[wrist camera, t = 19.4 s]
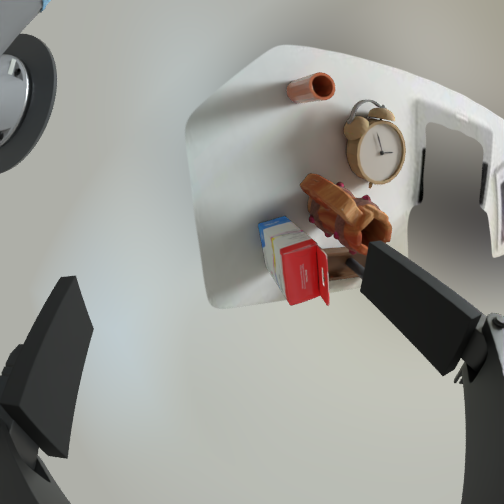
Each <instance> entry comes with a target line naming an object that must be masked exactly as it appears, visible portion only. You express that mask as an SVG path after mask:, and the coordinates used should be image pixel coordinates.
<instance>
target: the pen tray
mask: <svg viewBox="0 0 504 504" xmlns="http://www.w3.org/2000/svg"><path fill="white" fill-rule="evenodd" d="M322 250H323V251H324V252H325V253H326V254H327V259H328V276H329V281H332V280H339V279H346V278H354V277H359V276H358V275H357V274H356V273H355V272H354V271H353V270H351V269H350V268H349V267H348V266H347V265H346V260H347V259H348V258H350V257H351V258H353V259H354V260H356V261H357V262H358V263H359V264H360V265H362V266H363V267H364V268H365V263H366V257H367V255H363V254H360V253H359V252H357V253H356V254H354V255H352V254H350V253H349V249H348V248H346V247H341V248H328V249H322ZM323 281H325V277H324V270H323Z"/></svg>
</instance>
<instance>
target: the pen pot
mask: <svg viewBox="0 0 504 504" xmlns="http://www.w3.org/2000/svg"><path fill="white" fill-rule="evenodd" d="M334 92H335V83H334V81H333V79H332V78H331V77H330V76H329V75H327V74H325V73H320V72H319V73H315V74H312V75H309V76H306V77H303V78H300V79H297V80H294V81H292V82H290V83H289V84H288V86H287V95H288V97H289V99H290V100H291V101H293V102H295V103H307V102H314V101H322V100H327V99H330V98H331V97H332V96H333V95H334Z"/></svg>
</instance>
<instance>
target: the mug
mask: <svg viewBox="0 0 504 504" xmlns="http://www.w3.org/2000/svg"><path fill="white" fill-rule="evenodd" d="M300 187H301V189H302V190H303V191H304V192H305V193H306V194H307V195H309V200H308V205H307V206H308V211H309V213H310V217H309V222H311V223H314V224H315V225H316V226H317V227H318V228H319V229H321V230H322V231H324V233H325V236H326V237H331V236H332V235H333V234H334V238H335V239H338V240H339V242H340V243H341V244H342V245H344V246H345V247H346V248H348V249H349V253H350V254H352V255H354V254H356V253H357V252H359V253H360V254H363V255H367V251H368V245H369V242H373V241H382V242H384V243H386V242H390V239H391V233H392V226H391V224H390V222H389V221H388V216H387V215H386V214H385V213H384V212H382V211H381V210H380V209H379V207H378V206H377V205H376V204H374V203H373V202H371V199H370V197H369V196H368V195H365V196H363V197H362V198H355V197H354V196H353V194H352V193H351V192H350V191H349V190H347V189H346V188H344V184H343V183H341V182H338V183H337V184H336V185H335V184H334V183H332V182H331V181H329V180H327V179H325V178H324V177H322V176H320V175H318V174H312V173H310V174H308V175H307V176H306V178H305V179H304V180H303V182H302V183H301V184H300Z"/></svg>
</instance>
